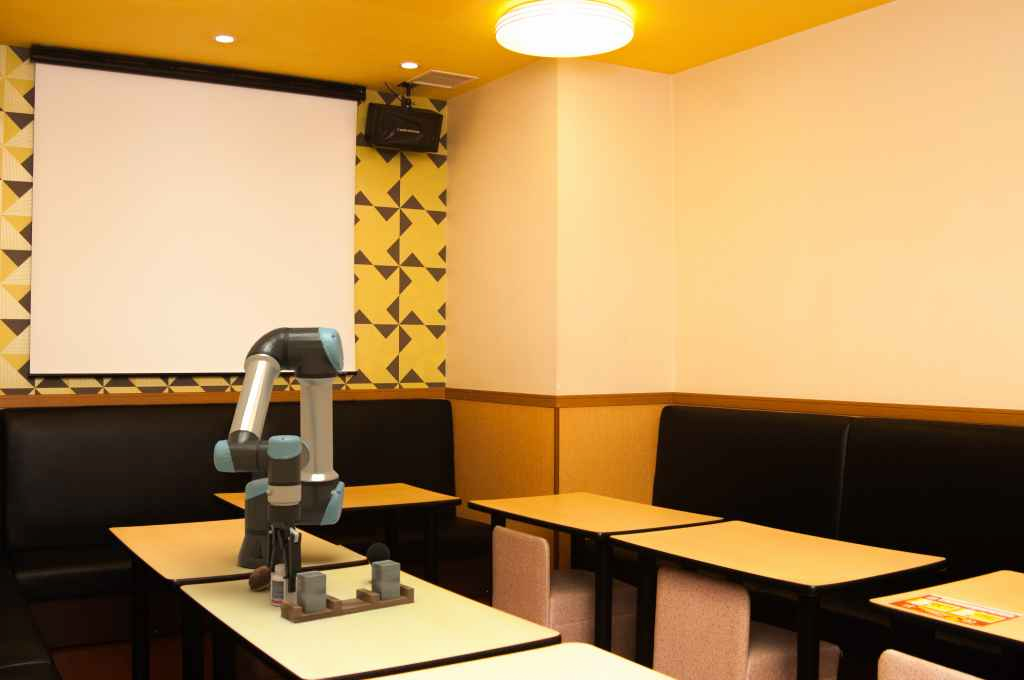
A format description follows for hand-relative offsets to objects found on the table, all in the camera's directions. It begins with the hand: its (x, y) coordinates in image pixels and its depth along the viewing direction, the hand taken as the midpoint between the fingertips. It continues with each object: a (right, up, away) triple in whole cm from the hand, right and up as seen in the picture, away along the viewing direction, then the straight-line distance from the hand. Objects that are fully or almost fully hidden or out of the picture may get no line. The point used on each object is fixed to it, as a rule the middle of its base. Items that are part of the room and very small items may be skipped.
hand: (283, 602), depth 232 cm
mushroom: (-8, -1, +14) cm, 16 cm away
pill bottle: (0, 0, 0) cm, 0 cm away
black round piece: (+19, -1, +21) cm, 29 cm away
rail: (+16, 0, -4) cm, 16 cm away
